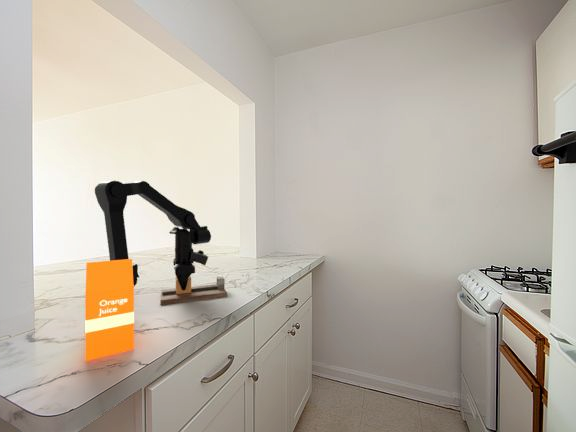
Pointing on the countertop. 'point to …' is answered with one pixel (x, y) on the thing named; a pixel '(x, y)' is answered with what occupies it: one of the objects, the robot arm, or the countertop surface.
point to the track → (195, 293)
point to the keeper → (188, 287)
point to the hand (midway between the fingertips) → (183, 288)
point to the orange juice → (109, 308)
